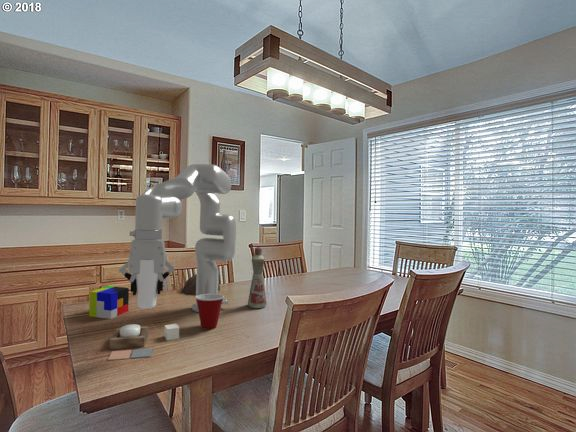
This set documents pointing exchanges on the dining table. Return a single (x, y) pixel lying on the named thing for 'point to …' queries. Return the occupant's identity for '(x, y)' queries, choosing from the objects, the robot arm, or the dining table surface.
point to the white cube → (171, 332)
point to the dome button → (130, 330)
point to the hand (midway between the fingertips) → (146, 293)
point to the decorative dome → (192, 286)
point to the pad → (120, 355)
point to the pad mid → (141, 353)
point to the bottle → (257, 282)
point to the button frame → (129, 339)
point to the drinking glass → (146, 285)
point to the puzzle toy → (108, 302)
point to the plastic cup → (209, 309)
